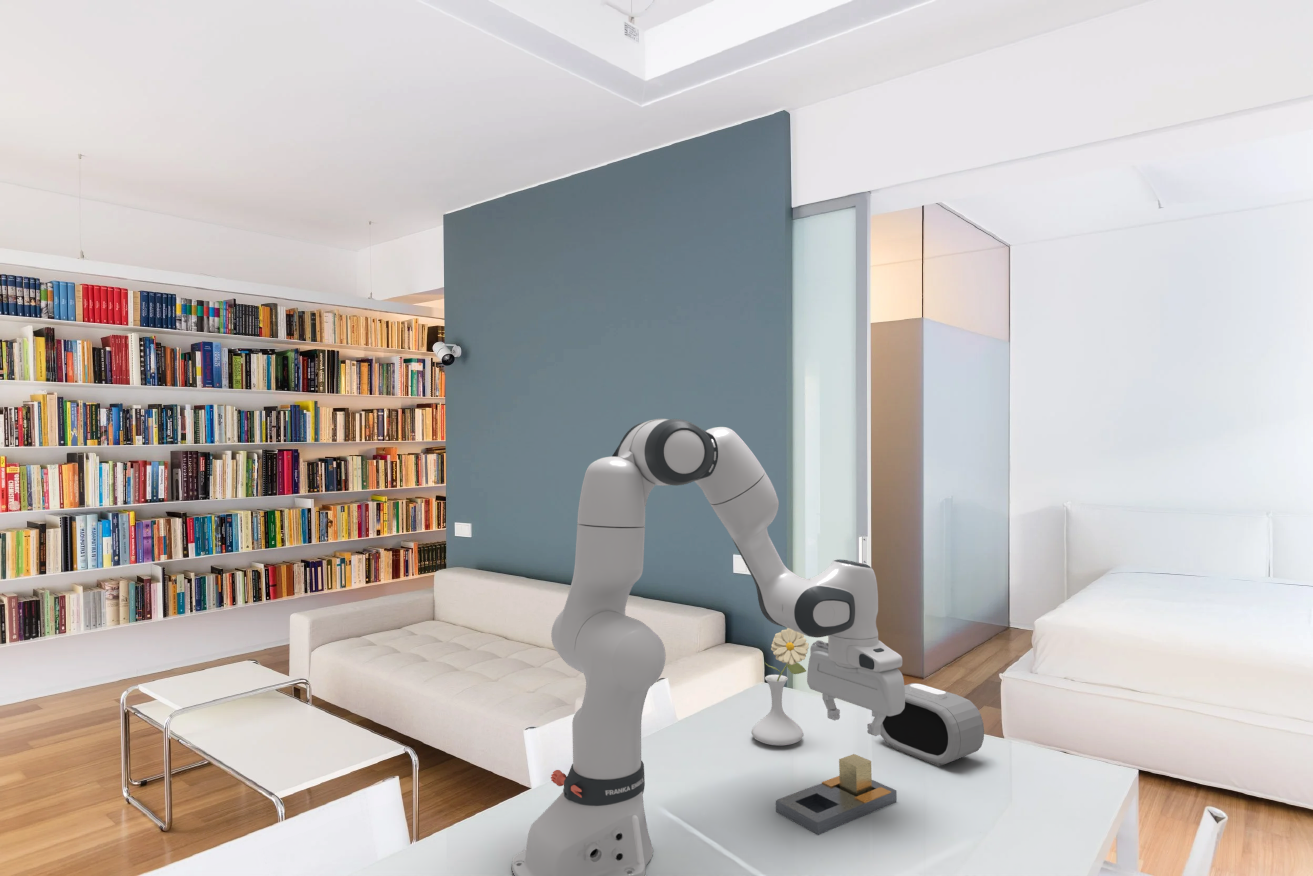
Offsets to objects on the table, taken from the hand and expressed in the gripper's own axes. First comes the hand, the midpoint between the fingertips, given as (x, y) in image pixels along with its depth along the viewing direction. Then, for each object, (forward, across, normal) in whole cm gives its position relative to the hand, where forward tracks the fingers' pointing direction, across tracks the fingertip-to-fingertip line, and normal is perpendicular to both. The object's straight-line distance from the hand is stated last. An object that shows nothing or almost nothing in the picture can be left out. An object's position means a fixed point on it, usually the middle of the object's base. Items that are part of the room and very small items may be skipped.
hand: (853, 726), depth 140 cm
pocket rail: (+14, 0, -4) cm, 15 cm away
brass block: (+13, 0, +1) cm, 13 cm away
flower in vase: (+14, -30, +11) cm, 35 cm away
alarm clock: (+14, -7, +31) cm, 34 cm away
